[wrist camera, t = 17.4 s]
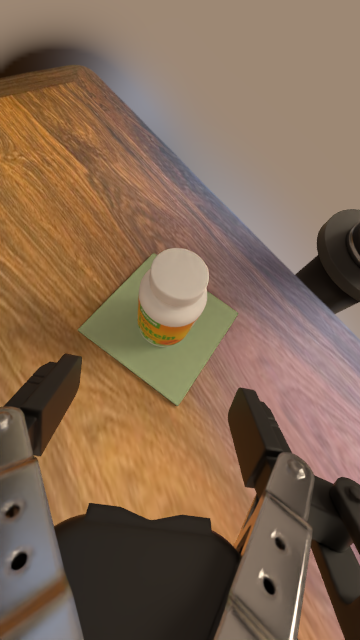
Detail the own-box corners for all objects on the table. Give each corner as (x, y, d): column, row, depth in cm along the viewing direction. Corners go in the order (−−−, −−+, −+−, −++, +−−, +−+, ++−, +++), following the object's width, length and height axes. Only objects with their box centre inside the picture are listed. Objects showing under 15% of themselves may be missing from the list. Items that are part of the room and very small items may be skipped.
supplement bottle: (127, 334, 24) (124, 287, 15) (150, 291, 26) (159, 227, 17) (177, 356, 24) (203, 323, 15) (196, 311, 26) (229, 259, 17)
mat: (153, 254, 28) (153, 252, 28) (237, 314, 27) (238, 313, 27) (78, 330, 23) (77, 329, 23) (177, 406, 22) (178, 406, 22)
